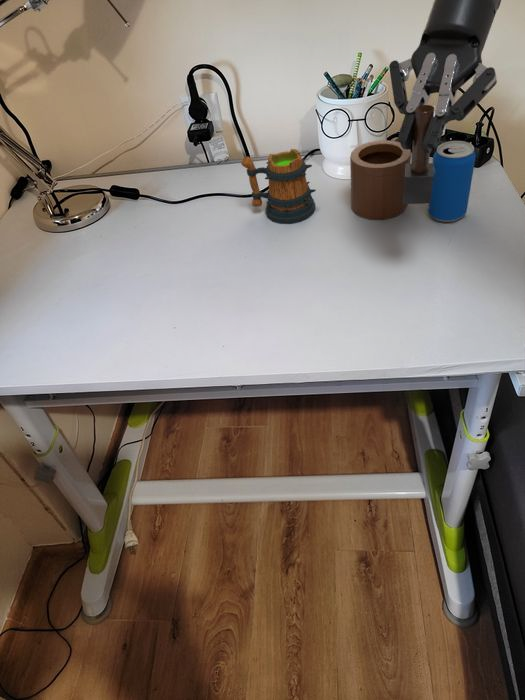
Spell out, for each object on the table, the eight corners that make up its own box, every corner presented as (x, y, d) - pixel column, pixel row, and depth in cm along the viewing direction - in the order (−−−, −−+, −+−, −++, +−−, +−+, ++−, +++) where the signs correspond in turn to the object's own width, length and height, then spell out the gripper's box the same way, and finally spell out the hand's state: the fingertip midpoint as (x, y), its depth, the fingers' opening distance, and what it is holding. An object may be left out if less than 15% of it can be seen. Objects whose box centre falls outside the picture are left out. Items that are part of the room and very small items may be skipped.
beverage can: (424, 206, 92) (430, 142, 84) (461, 202, 92) (471, 137, 83) (431, 226, 88) (438, 160, 79) (469, 222, 87) (481, 155, 79)
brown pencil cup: (408, 190, 97) (411, 139, 90) (406, 220, 90) (410, 167, 83) (354, 191, 100) (353, 141, 93) (348, 220, 93) (347, 168, 86)
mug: (316, 194, 101) (312, 136, 93) (317, 222, 94) (313, 163, 86) (251, 200, 103) (242, 145, 94) (248, 228, 96) (237, 171, 87)
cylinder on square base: (430, 189, 71) (440, 101, 62) (430, 203, 69) (440, 113, 60) (403, 190, 72) (410, 103, 63) (402, 203, 70) (409, 115, 61)
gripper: (402, -15, 61) (355, 129, 64) (524, -16, 55) (466, 145, 57) (416, 21, 68) (373, 151, 70) (527, 25, 61) (475, 168, 64)
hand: (415, 148), depth 64 cm, fingers closed on cylinder on square base, 2 cm apart
